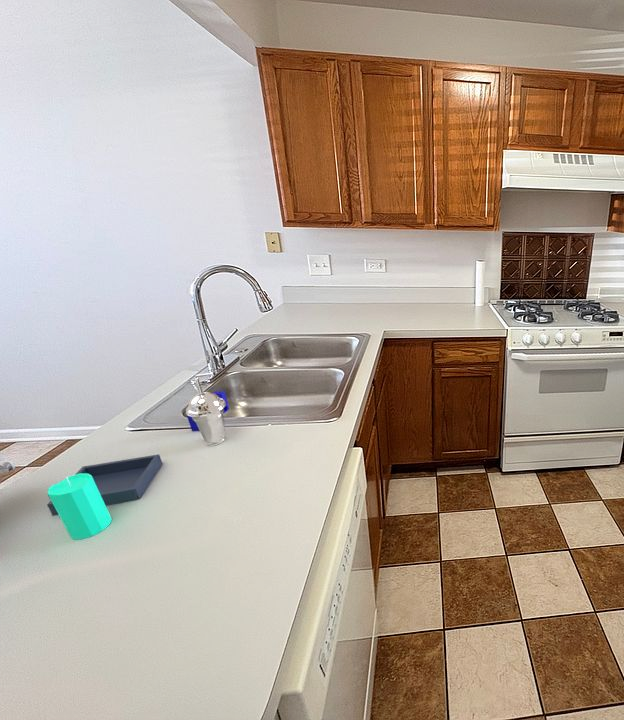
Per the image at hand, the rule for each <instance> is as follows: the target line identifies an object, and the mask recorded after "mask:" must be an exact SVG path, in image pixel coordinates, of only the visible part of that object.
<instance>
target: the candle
mask: <svg viewBox="0 0 624 720" xmlns="http://www.w3.org/2000/svg"><path fill="white" fill-rule="evenodd" d="M75 474H76V473H75ZM75 474H73V475H69V476H66V477H65V478H64V479H63V480H61V481H59V482H58V483H55V484H53V485H51V486H49V488H48V490H47V493H46V494H47V496H48V497H49V499H50V501H52V503H53V505H54V507H55V509H56V511H57V513H58V516H59V518H60V520H61V522H62V524H63V526H64V528H65V530H66V531H67V533H68V536H69V537H70V538H71V539H72V540H84V539H87V538H90V537H94V536H95V535H97V534H99V533H101V532H103V531H104V530H105V529H106V528H108V527H109V526H110V525H111V523H112V520H113V519H112V516H111V514H110V512H109V509H108V508H107V505H105V503H104V501H103V499H102V497H101V495H100V493H99V490H98V488H97V486H96V484H95V482H94V480H93V477H92V476H91V475H90V474H86V473H80V474H76V475H75Z"/></svg>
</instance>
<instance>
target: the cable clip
mask: <svg viewBox="0 0 624 720" xmlns="http://www.w3.org/2000/svg"><path fill="white" fill-rule="evenodd" d="M212 393H214V394H216V395H217V396H218V397H219V398H221V399H223V400H224V401H225V402H226V406H225V407H224V408H223V409H224V411H223V412H224V414H226V413H227V412H228V411H229V410H230V406H229V403H228V399H227V396H226V392H225V391H224V390H223V391H221V390H220V391H219V390H217V391H216V390H215V391H213V392H212ZM186 417H187V420H188V421H187V422H188V424H189V426H190V429H191V430H190V431H191V432H200V431H199V429H198V427H197V425H196V423H195V422H194V420H193V419H192V417H191V416H188V415H187V414H186Z"/></svg>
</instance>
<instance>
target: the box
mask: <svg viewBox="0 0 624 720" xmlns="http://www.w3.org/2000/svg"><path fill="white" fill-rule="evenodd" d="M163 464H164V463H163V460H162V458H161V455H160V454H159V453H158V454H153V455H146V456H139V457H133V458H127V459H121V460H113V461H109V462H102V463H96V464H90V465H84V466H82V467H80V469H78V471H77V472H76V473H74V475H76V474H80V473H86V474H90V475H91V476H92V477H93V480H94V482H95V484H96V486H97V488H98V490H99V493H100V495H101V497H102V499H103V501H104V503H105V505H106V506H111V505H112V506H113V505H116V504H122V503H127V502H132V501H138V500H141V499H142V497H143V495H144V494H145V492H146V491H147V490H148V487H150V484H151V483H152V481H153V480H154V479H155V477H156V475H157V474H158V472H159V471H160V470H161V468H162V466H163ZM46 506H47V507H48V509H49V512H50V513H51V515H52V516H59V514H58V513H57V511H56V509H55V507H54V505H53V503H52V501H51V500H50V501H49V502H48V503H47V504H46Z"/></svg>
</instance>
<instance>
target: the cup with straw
mask: <svg viewBox="0 0 624 720" xmlns="http://www.w3.org/2000/svg"><path fill="white" fill-rule="evenodd" d="M210 376H216V372H214V371H213V372H204V373H197V374H195V376H194V380H195V383H196V387H197V390H198V393H197V394H195V395H194V396H193V397H191V398H190V400H189V403H188V406H187V407H186V409H185V415H186V416H187V415H188V416H191V417H192V419H193V420H194V422H195V423H196V425H197V427H198V429H199V431H198V432H200V435H201V437H202V439H203V440H204V442H205V444H206V446H208V447H213V446H217V445H221V444H223V443H224V442H225V441H226V440H227V436H226V435H227V431H226V424H225V419H224V415H225V413H224V412H223V411H224V409H223V408H224V407H225V406H226V402H225V401H224V400H223V399H221V398H219V397H218V396H217V395H216V394H214V393H213V392H211V391H203V389H202V388H203V387H202V385H201V382H200V379H199V378H202V377H210Z"/></svg>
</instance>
